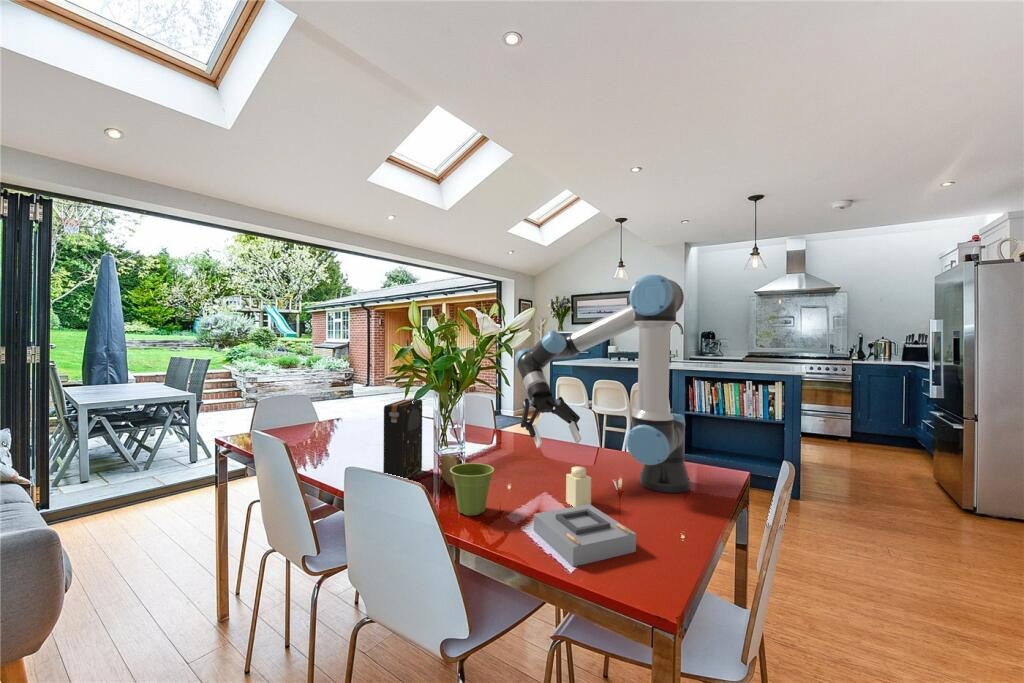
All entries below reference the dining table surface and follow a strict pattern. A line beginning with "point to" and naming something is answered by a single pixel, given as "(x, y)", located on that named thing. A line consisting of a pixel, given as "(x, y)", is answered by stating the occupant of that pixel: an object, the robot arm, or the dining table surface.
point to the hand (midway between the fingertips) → (559, 443)
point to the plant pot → (471, 486)
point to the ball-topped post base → (584, 534)
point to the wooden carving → (449, 467)
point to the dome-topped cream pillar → (578, 487)
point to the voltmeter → (403, 438)
